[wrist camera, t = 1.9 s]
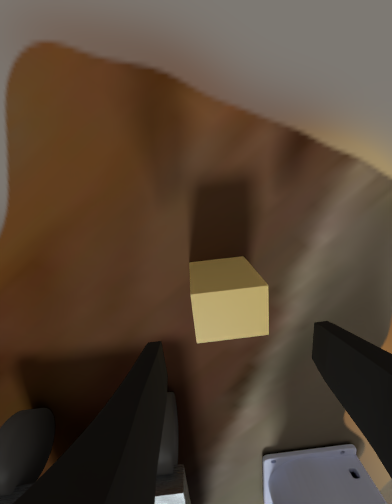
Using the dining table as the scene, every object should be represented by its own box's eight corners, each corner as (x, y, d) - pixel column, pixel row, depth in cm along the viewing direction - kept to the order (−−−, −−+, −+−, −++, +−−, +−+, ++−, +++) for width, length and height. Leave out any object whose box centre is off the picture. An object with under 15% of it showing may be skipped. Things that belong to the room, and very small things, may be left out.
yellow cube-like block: (243, 255, 16) (268, 285, 11) (245, 314, 17) (268, 363, 12) (189, 262, 16) (190, 294, 11) (196, 320, 17) (200, 371, 12)
